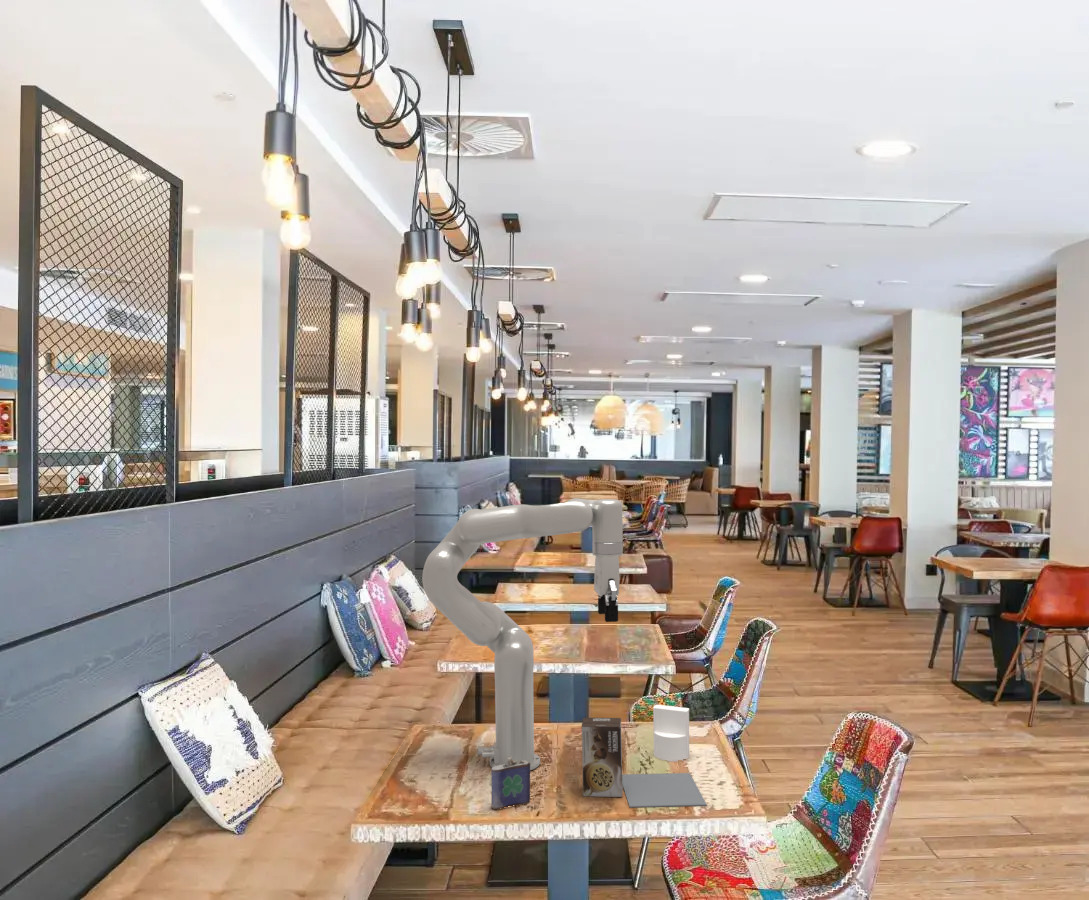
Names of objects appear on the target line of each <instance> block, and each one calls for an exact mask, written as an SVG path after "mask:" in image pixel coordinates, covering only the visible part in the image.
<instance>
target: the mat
mask: <svg viewBox="0 0 1089 900" xmlns="http://www.w3.org/2000/svg"><path fill="white" fill-rule="evenodd" d="M622 785H623V791H624V794H625V797H626V800H627V804H628V806H629V808H633V807H634V808H667V807H668V806H669V807H668V808H670V807H671V808H674V807H675V808H676V807H707V806H708V804H707V802H706V800H705V799H704V797H703V795H702V793H701V791H700V789H699V788H698V786H697V783H696V782H695V780H694V778H693V776H692V775H691V773H690V772H679V773H678V772H672V773H671V772H670V773H627V774H626V773H625V774H623V773H622ZM663 806H664V807H663Z"/></svg>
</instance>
